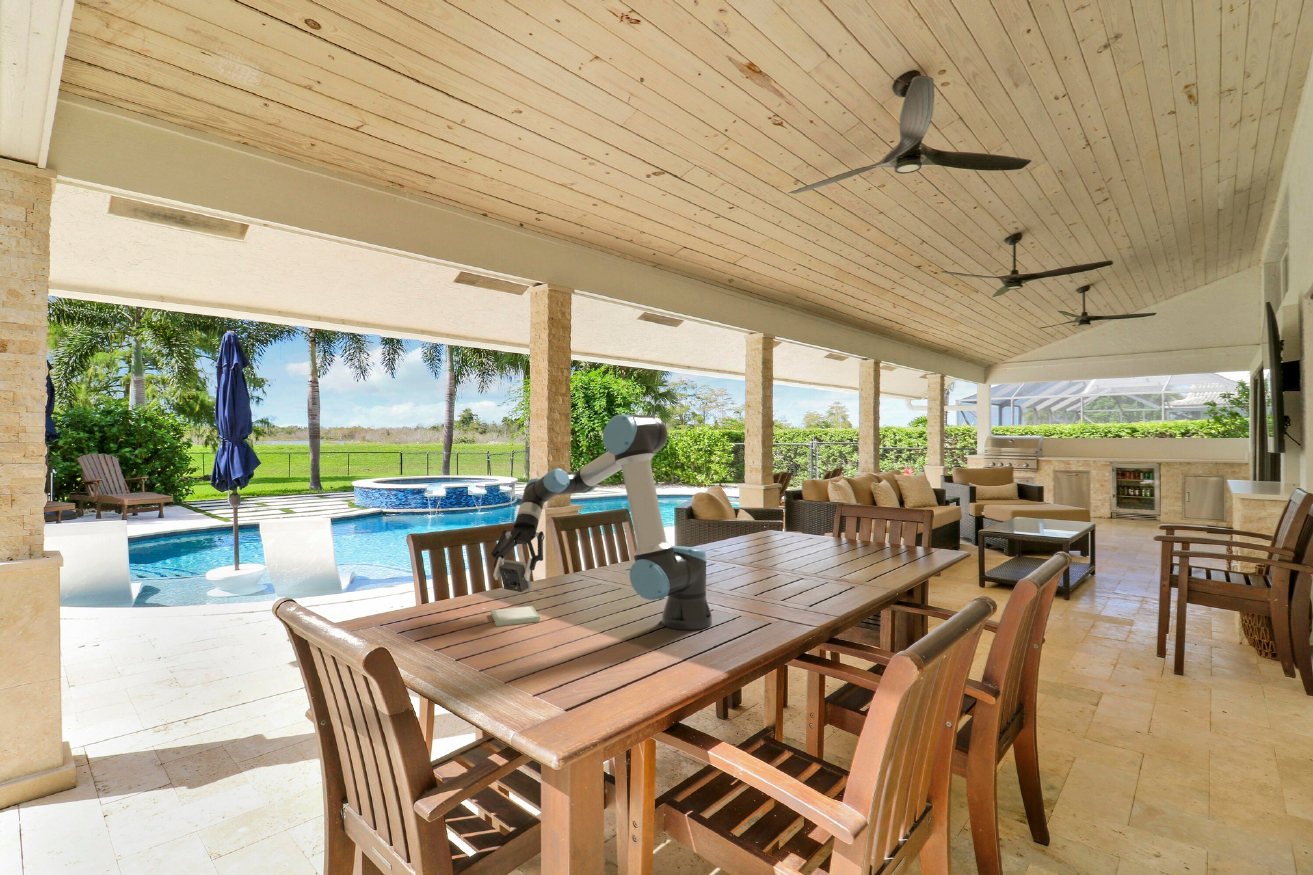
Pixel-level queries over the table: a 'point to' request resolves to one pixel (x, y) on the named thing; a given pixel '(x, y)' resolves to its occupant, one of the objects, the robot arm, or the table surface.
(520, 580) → the electrical switch
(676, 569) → the robot arm
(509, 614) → the board
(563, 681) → the table surface
